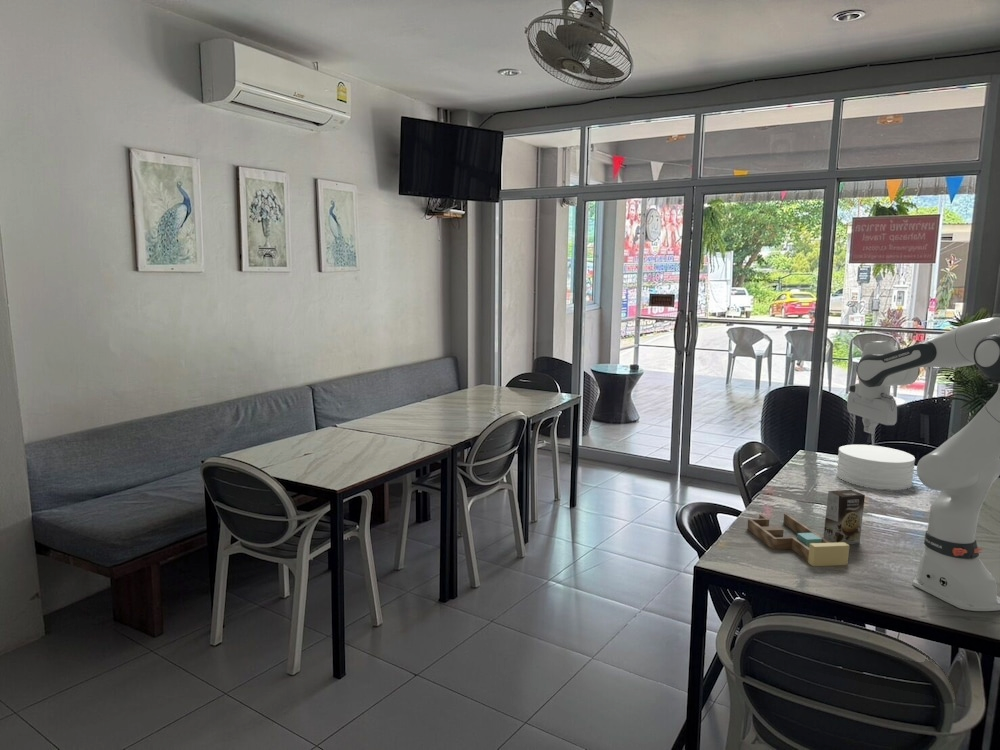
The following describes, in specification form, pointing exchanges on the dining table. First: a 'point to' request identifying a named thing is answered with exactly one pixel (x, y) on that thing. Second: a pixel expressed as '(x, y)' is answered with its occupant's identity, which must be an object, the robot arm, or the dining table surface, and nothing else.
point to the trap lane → (781, 534)
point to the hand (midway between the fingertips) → (869, 432)
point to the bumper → (828, 554)
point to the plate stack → (875, 467)
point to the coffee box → (844, 516)
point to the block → (808, 538)
